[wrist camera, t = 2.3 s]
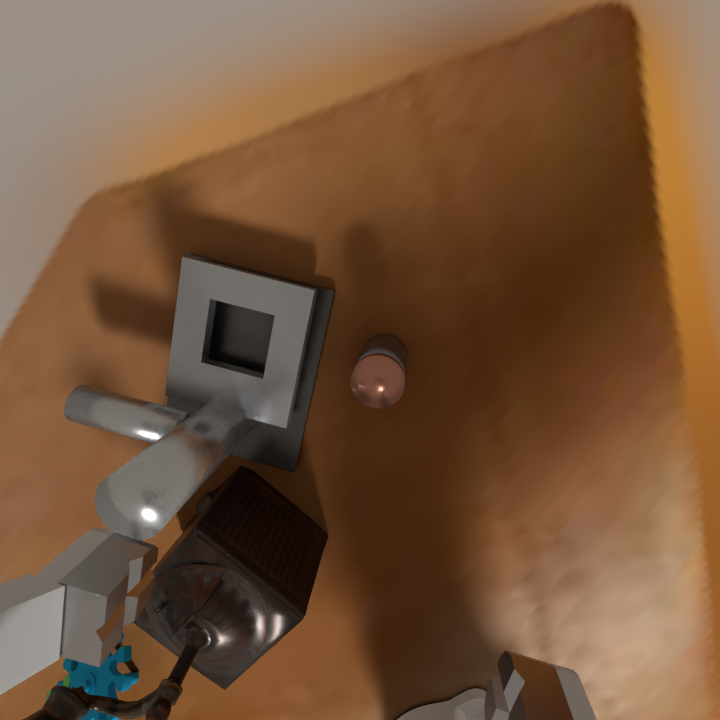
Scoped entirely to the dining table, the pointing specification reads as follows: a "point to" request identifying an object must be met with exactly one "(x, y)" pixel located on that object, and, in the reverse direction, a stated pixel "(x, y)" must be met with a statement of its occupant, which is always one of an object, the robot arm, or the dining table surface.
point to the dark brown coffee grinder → (218, 594)
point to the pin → (380, 372)
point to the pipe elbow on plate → (213, 391)
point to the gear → (100, 679)
